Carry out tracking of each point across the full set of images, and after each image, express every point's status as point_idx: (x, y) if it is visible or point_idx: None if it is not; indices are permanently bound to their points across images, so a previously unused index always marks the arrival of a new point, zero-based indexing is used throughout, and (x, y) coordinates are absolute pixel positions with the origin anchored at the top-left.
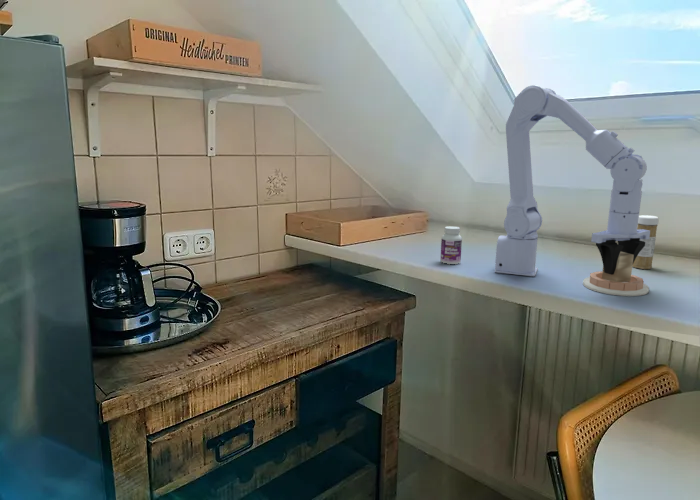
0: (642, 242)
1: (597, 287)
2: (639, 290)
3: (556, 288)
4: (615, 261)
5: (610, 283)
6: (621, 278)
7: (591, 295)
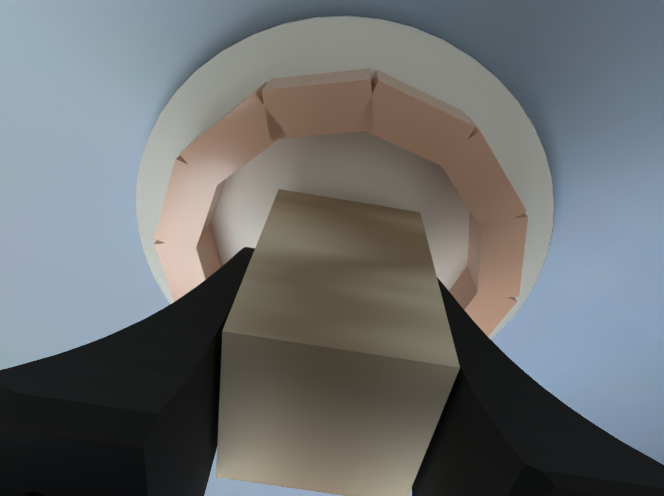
0: (35, 437)
1: (531, 252)
2: (347, 56)
3: (655, 370)
4: (468, 341)
5: (522, 207)
6: (376, 218)
7: (658, 202)
